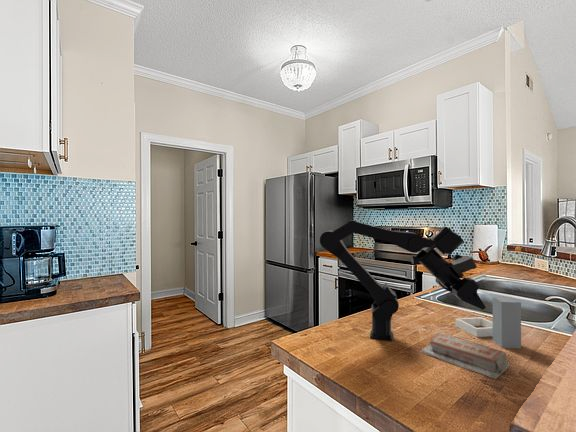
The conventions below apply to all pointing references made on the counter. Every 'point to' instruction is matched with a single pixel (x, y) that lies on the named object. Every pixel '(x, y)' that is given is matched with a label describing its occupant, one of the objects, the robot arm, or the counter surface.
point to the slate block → (507, 322)
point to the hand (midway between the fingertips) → (476, 303)
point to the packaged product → (467, 355)
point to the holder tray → (469, 324)
